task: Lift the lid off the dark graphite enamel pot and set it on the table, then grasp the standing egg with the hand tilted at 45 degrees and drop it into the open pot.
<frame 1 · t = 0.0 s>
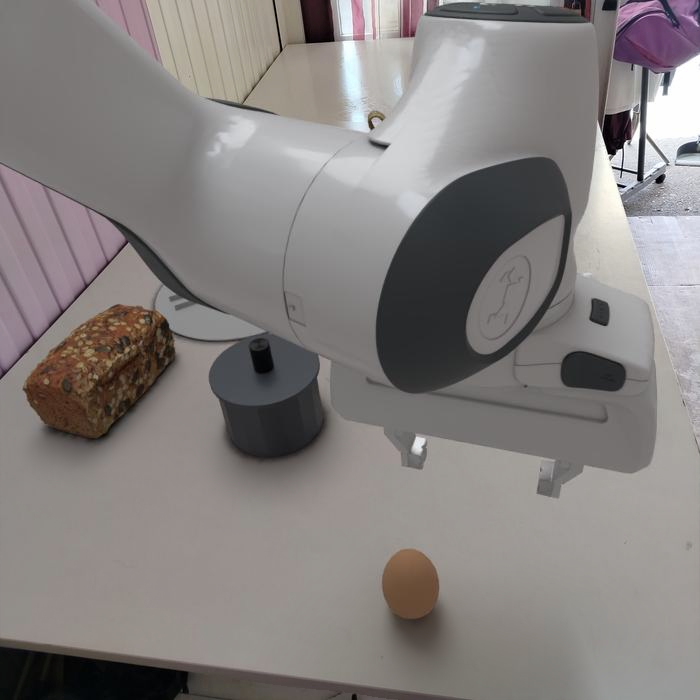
hand: (479, 475, 45), 21 cm above the table, tool pointing down, fingers open, 8 cm apart
ceramic bowl: (424, 181, 134), on the table
ice cream cone: (568, 382, 82), on the table
pot: (276, 421, 81), on the table
teapot: (480, 268, 105), on the table
lid: (264, 371, 76), point 8 cm above the table, touching pot
bread: (115, 390, 89), on the table
plate: (240, 291, 107), on the table
flower pot: (241, 202, 134), on the table
egg: (411, 607, 60), on the table
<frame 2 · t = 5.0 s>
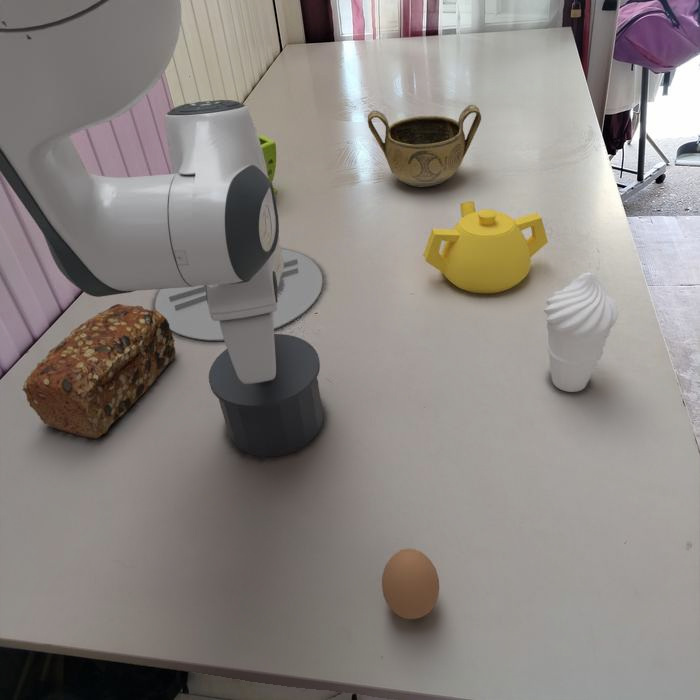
hand: (262, 361, 75), 10 cm above the table, tool pointing down, fingers closed on lid, 2 cm apart
lid: (264, 371, 76), point 9 cm above the table, touching gripper, pot
everything else where it was.
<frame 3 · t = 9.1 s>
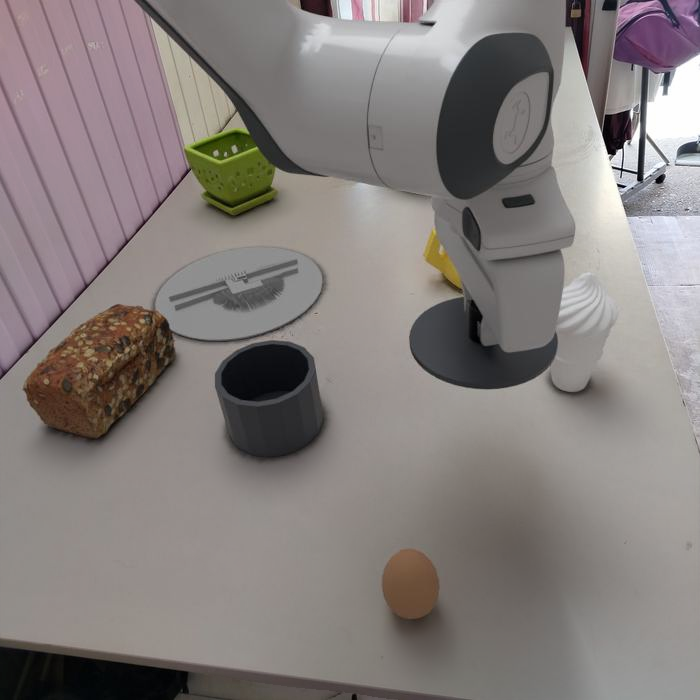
hand: (482, 328, 57), 22 cm above the table, tool pointing down, fingers closed on lid, 2 cm apart
lid: (481, 341, 58), point 20 cm above the table, touching gripper
everything else where it was.
when the fingers open (2 cm above the table, at t = 13.5 s): lid stays where it is, point 1 cm above the table.
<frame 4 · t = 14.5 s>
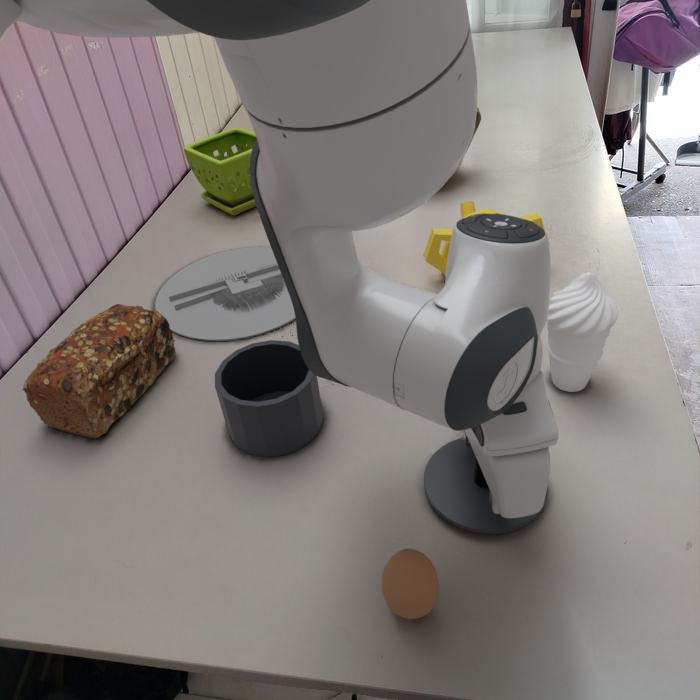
hand: (484, 472, 68), 2 cm above the table, tool pointing down, fingers open, 8 cm apart
lid: (484, 483, 70), point 1 cm above the table
everything else where it was.
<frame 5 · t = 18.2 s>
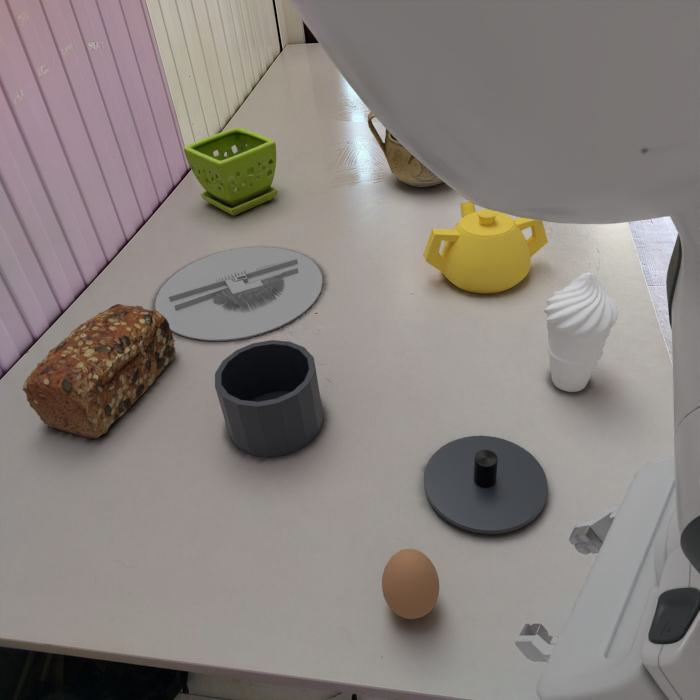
hand: (552, 587, 45), 14 cm above the table, tool tilted 45°, fingers open, 8 cm apart
nothing on the table moved.
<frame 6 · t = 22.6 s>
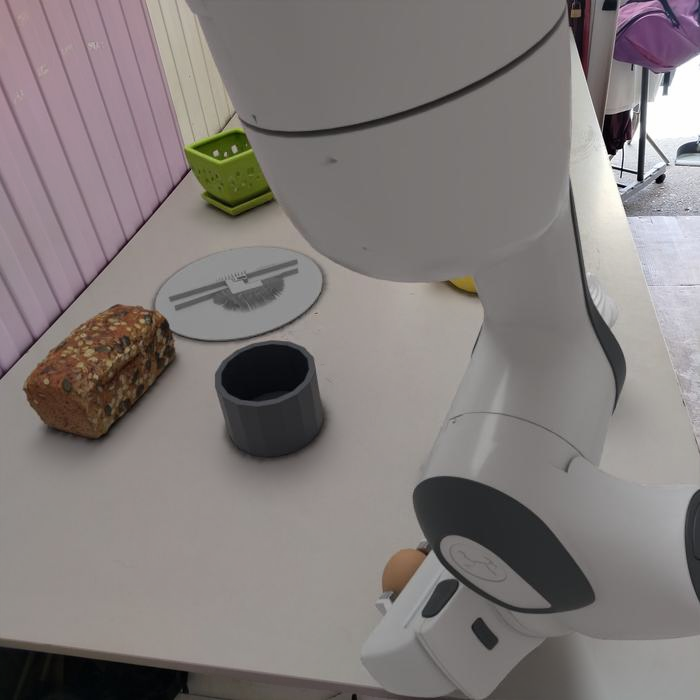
hand: (403, 577, 57), 4 cm above the table, tool tilted 45°, fingers closed on egg, 5 cm apart
egg: (411, 607, 60), on the table, touching gripper
everything else where it was.
when the fingers open (10 cm above the table, at t = 31.1 s): egg drops 5 cm, resting on pot.
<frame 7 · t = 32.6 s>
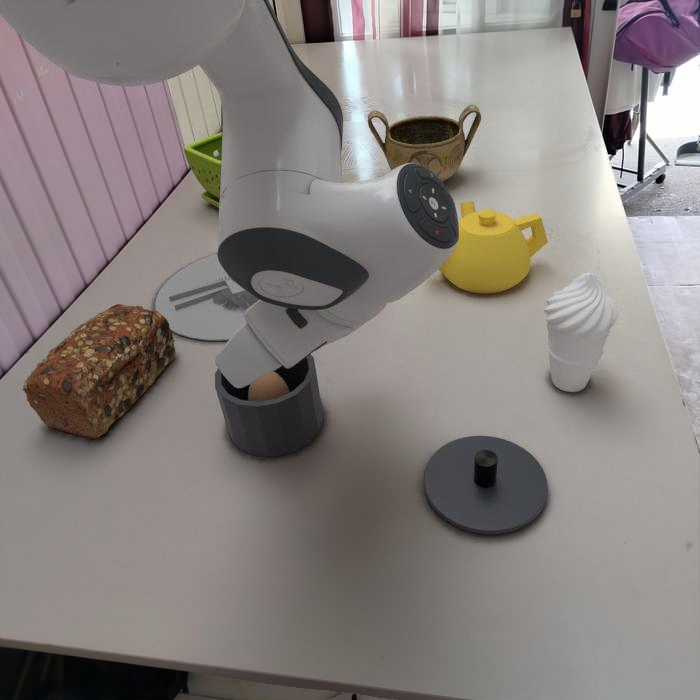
hand: (272, 340, 71), 14 cm above the table, tool tilted 45°, fingers open, 8 cm apart
egg: (274, 421, 81), resting on pot
everything else where it was.
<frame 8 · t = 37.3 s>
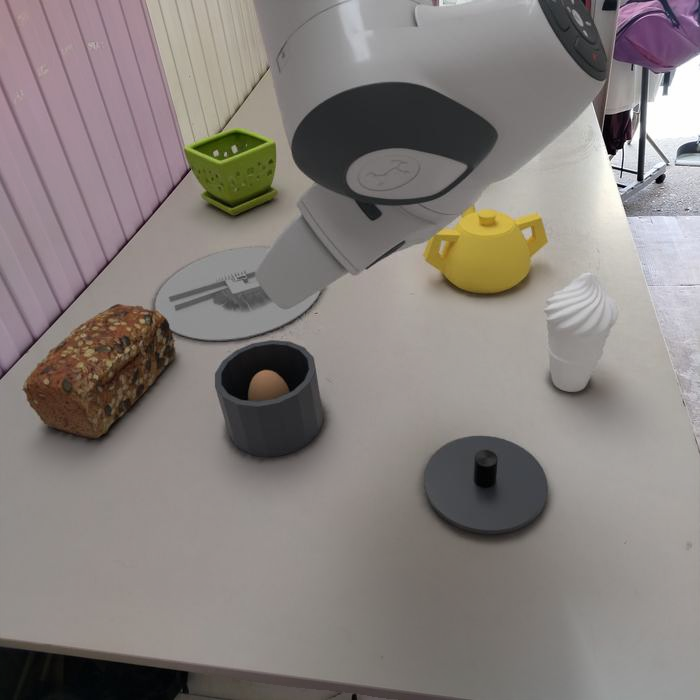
hand: (318, 263, 57), 27 cm above the table, tool tilted 45°, fingers open, 8 cm apart
nothing on the table moved.
at the end: egg inside the target area in the pot (0.3 cm from its centre), point 0.3 cm above the pot's base; lid inside the target area on the table beside the pot (0.1 cm from its centre), point 0.6 cm above the table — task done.
